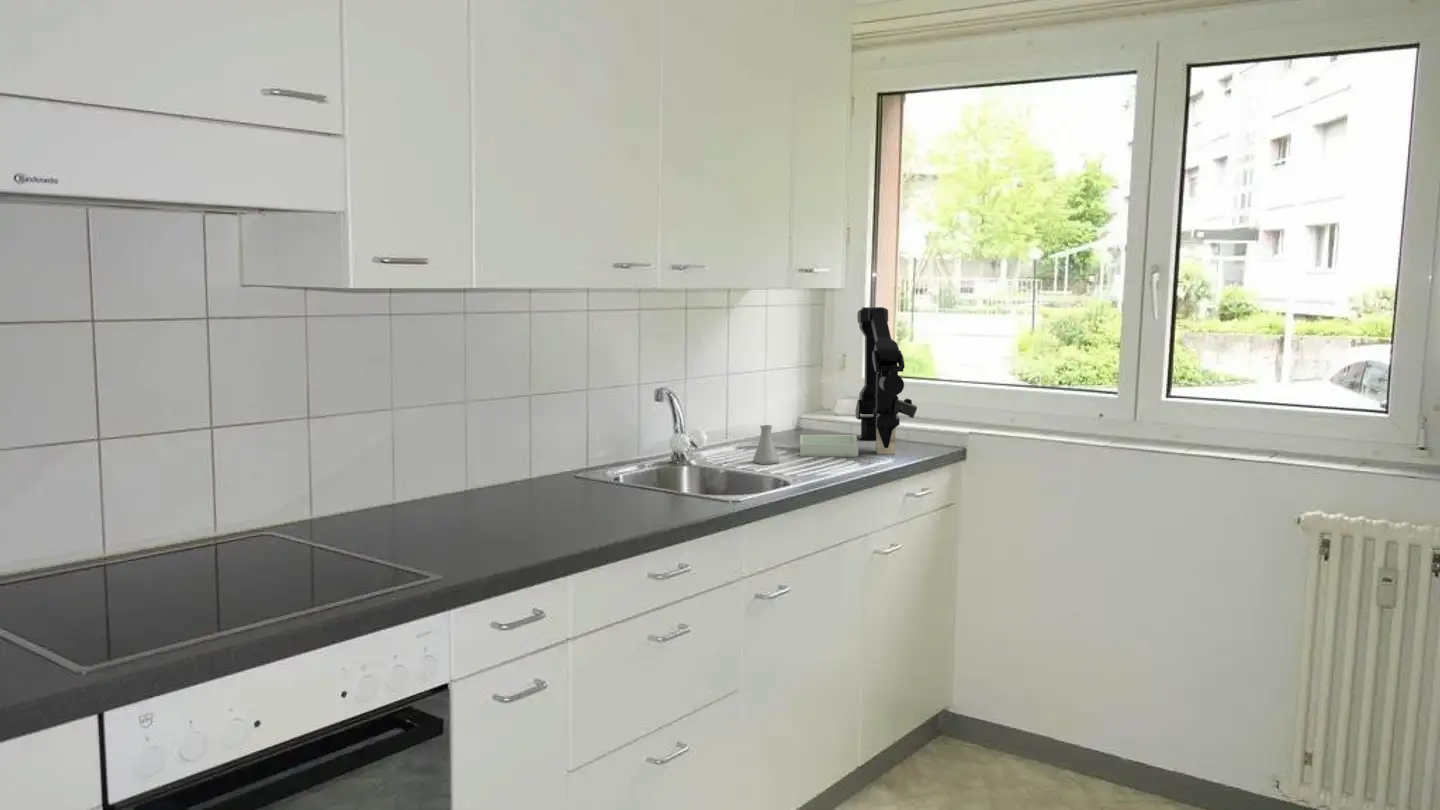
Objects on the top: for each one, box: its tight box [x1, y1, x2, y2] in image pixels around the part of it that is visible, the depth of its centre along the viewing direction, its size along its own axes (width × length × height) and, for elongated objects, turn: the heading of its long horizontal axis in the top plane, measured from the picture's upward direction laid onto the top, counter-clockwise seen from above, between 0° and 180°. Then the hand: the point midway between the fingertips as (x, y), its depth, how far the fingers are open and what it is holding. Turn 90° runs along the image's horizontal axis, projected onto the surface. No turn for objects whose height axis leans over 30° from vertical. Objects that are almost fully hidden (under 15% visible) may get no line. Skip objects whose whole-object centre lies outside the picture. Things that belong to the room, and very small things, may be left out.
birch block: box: [875, 427, 897, 455], centre depth 316 cm, size 5×5×7 cm
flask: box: [752, 424, 780, 465], centre depth 303 cm, size 7×7×10 cm
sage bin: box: [799, 434, 859, 458], centre depth 319 cm, size 16×16×4 cm
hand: (885, 446), depth 316 cm, fingers closed on birch block, 5 cm apart
